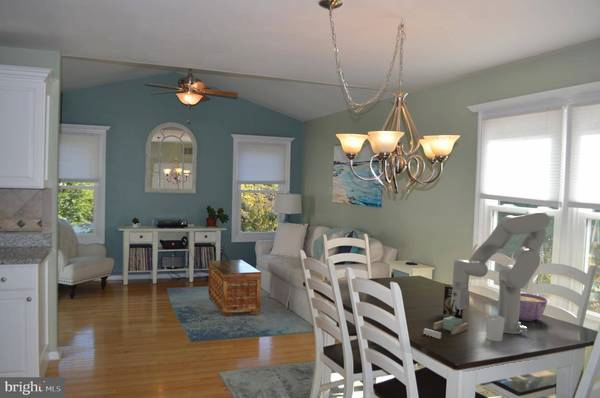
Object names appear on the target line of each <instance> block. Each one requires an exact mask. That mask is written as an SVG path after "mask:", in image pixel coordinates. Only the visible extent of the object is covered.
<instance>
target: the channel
mask: <svg viewBox="0 0 600 398" xmlns="http://www.w3.org/2000/svg"><path fill="white" fill-rule="evenodd" d="M439 329H443V319H442V320H438V321H437V322H433V328H432V330H433V331H437V330H439ZM468 330H469V323H468V322H464V323H462V324H461V325H458V326H455V327H453V328H451V331H450V335H451V336H454V335H457V334H460V333H462V332H464V331H468Z"/></svg>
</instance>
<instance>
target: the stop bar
mask: <svg viewBox="0 0 600 398" xmlns="http://www.w3.org/2000/svg"><path fill="white" fill-rule="evenodd" d="M424 334H426V335H425V336H428V335H429V337H431V336H432V337H433V338H435V339H441V338H442V332H441V331H440V332H439V331H437V330H434V329H429V328H426V327H425V328H423V335H424Z"/></svg>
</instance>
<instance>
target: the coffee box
mask: <svg viewBox="0 0 600 398" xmlns="http://www.w3.org/2000/svg"><path fill="white" fill-rule="evenodd" d="M452 285H453V284H446V285H445V286H444V295H443V308H442V309H443V310H442V316H443V318H447V317H451V316H452V317H455V314H454V312H453V311H452V310H453V308H451V296H452V290H453V287H452ZM456 308H457V307H456Z"/></svg>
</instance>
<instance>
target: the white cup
mask: <svg viewBox="0 0 600 398" xmlns="http://www.w3.org/2000/svg"><path fill="white" fill-rule="evenodd" d="M485 317H486V318H485V319H486V320H485V335H486V337H485V338H486V340H489V341H491V342H501V341H503V338H504V337H503V335H504V333H503V330H504V322H505V318H503V317H501V316H498V315H493V314H489V315H488V314H487V315H486V316H485Z"/></svg>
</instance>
